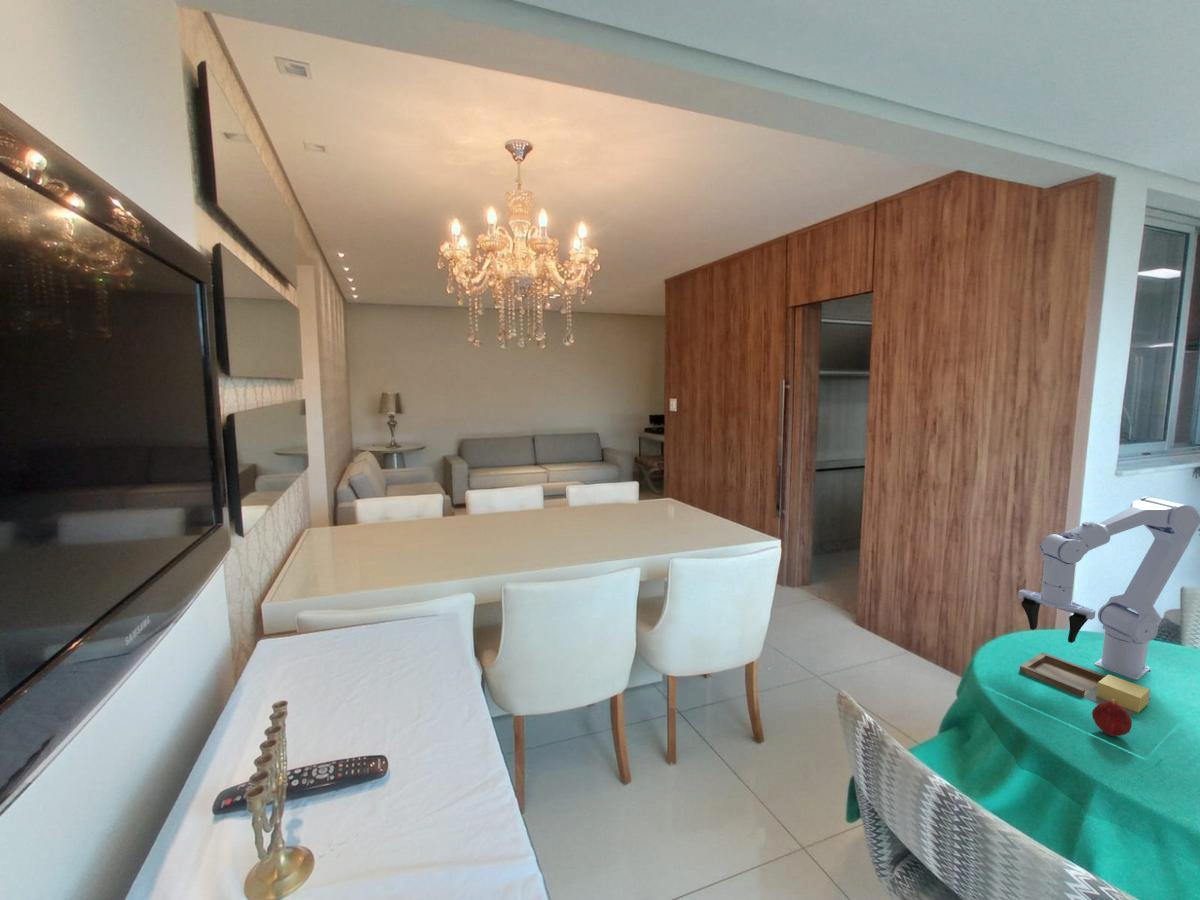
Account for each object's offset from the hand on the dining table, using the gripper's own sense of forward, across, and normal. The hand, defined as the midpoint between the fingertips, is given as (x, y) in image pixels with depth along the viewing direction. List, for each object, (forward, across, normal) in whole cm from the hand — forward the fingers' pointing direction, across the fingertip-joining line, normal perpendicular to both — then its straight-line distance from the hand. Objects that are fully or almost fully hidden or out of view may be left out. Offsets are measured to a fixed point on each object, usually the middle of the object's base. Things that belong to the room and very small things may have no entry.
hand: (1051, 634), depth 130 cm
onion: (+10, +17, -19) cm, 27 cm away
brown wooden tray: (+9, +3, -2) cm, 10 cm away
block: (+9, +14, -2) cm, 17 cm away
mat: (+9, +13, -2) cm, 16 cm away
